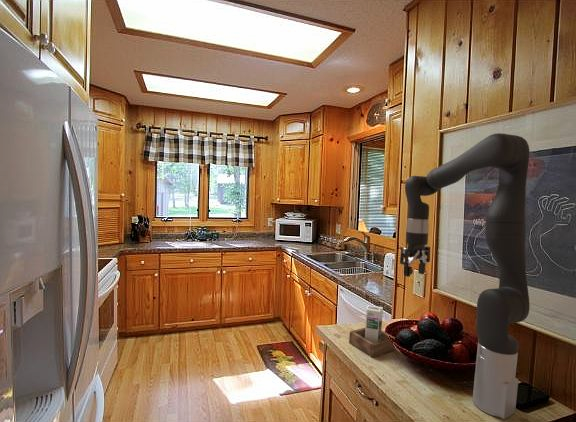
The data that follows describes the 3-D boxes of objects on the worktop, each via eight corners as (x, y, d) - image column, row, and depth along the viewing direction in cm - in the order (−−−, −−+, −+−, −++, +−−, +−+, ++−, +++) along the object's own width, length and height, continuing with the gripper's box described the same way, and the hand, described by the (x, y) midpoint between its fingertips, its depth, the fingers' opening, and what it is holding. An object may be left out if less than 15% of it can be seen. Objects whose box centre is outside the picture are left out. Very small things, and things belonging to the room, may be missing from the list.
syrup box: (363, 347, 120) (366, 309, 119) (365, 340, 126) (367, 304, 125) (379, 350, 118) (382, 311, 117) (380, 343, 124) (383, 306, 123)
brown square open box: (395, 350, 120) (396, 338, 120) (372, 357, 114) (373, 345, 114) (371, 336, 130) (372, 325, 130) (349, 343, 124) (349, 331, 124)
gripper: (414, 233, 112) (410, 279, 113) (438, 231, 120) (435, 275, 121) (395, 230, 118) (393, 274, 119) (420, 229, 126) (417, 270, 127)
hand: (414, 275), depth 120 cm, fingers open, 8 cm apart
